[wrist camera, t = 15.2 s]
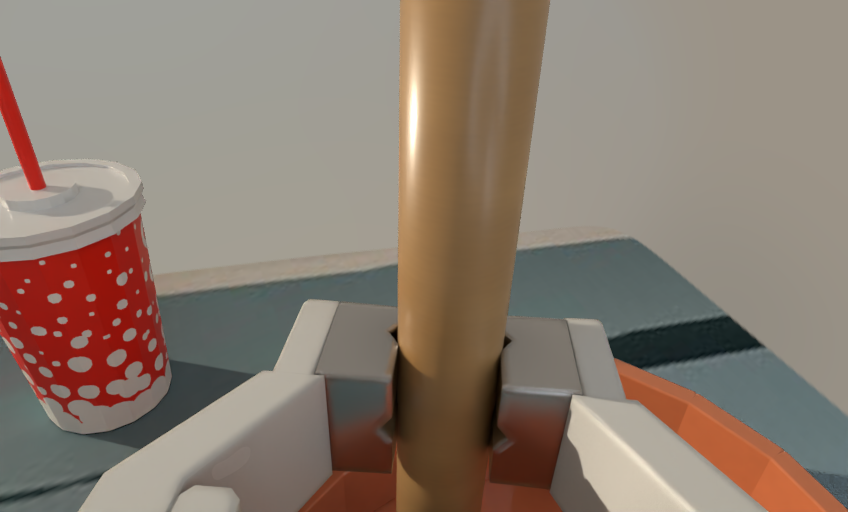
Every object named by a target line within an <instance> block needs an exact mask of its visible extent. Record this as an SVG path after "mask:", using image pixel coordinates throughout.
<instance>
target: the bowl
mask: <svg viewBox="0 0 848 512" xmlns="http://www.w3.org/2000/svg"><path fill="white" fill-rule="evenodd" d="M614 361H615V365H616V368H617V371H618V374H619V377H620V380H621V383H622V387H623V390H624V393H625V396H626V399H628V400H638V401H639V402H640V403H641V404H642V405H644V406H645V407H646V408H647V409H648V410H649V411H651V412H652V413H653V414H654V415H655V416H657V417H658V418H659V419H660V420H661V421H662V422H664V423H665V424H666V425H667V426H668V427H669V428H671V429H672V430H673V431H674V432H675V433H677V434H678V435H679V436H680V437H681V438H682V439H684V440H685V441H686V442H687V443H688V444H690V445H691V446H692V447H693V448H694V449H695V450H697V451H698V452H699V453H700V454H701V455H702V456H704V457H705V458H706V459H707V460H708V461H710V462H711V463H712V464H713V465H714V466H715V467H717V468H718V469H719V470H720V471H721V472H723V473H724V474H725V475H726V476H727V477H728V478H730V479H731V480H732V481H733V482H734V483H735V484H737V485H738V486H739V487H740V488H741V489H743V490H744V491H745V492H746V493H747V494H748V495H750V496H751V497H752V498H753V499H754V500H756V501H757V502H758V503H759V504H760V505H761V506H763V507H764V508H765V509H766V510H767V511H768V512H848V509H847V508H846V507H845V506H844V505H842V504H841V503H840V502H839V501H838V500H837V499H836V498H835V497H834V496H833V495H832V494H831V493H830V492H829V491H828V490H827V489H826V488H824V487H823V486H822V485H821V484H820V483H819V482H818V481H817V480H816V479H815V478H814V477H813V476H812V475H811V474H810V473H809V472H807V471H806V470H805V469H804V468H803V467H802V466H801V465H800V464H799V463H798V462H797V461H796V460H795V459H794V458H793V457H792V456H791V455H789V454H788V453H787V452H784V450H783V449H782V448H781V447H779V446H778V445H776V444H775V443H773V442H772V441H770V440H768V439H767V438H765V437H764V436H762V435H761V434H759V433H758V432H756V431H755V430H753V429H752V428H750V427H749V426H747V425H746V424H744V423H742V422H741V421H739V420H738V419H736V418H735V417H733V416H732V415H730V414H729V413H727V412H726V411H724V410H723V409H721V408H720V407H718V406H716V405H715V404H713V403H712V402H710V401H709V400H707V399H706V398H704V397H703V396H701V395H700V394H696V393H695V392H694V391H691V390H689V389H687V388H684V387H682V386H680V385H677V384H675V383H673V382H670V381H668V380H666V379H663V378H661V377H658V376H656V375H654V374H651V373H649V372H647V371H644V370H642V369H640V368H637V367H635V366H632V365H630V364H628V363H625V362H623V361H621V360H618V359H616V358H614ZM396 491H397V443H396V449H395V456H394V462H393V468H392V474H383V473H366V472H349V471H333V470H332V475H331V476H330V477H329V478H328V480H327V481H326V482H325V483H324V484H323V485H322V486H321V487H320V488H319V489H318V490H317V492H316V493H315V494H314V495H313V496H312V497H311V498H310V499H309V500H308V501H307V502H306V503H305V505H304V506H303V507H302V508H301V509H300V510H299V511H298V512H396ZM481 512H563V511H562V510H561V508H560V507H559V505H558V504H557V503H556V501H555V500H554V498H553V497H552V495H551V494H550V490H549V489H540V488H531V487H522V486H514V485H505V484H496V483H490V481H489V454H488V462H487V469H486V477H485V484H484V491H483V499H482V506H481Z"/></svg>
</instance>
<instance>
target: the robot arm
mask: <svg viewBox="0 0 848 512" xmlns="http://www.w3.org/2000/svg"><path fill="white" fill-rule="evenodd" d="M397 386H398V307H394V306H384V305H373V304H362V303H352V302H339V301H327V300H314V299H309V300H307V301H306V302H305V303H304V304H303V306H302V308H301V310H300V312H299V315H298V317H297V319H296V321H295V323H294V326H293V328H292V330H291V332H290V335H289V337H288V339H287V341H286V344H285V346H284V348H283V350H282V352H281V355H280V357H279V359H278V361H277V364H276V366H275V368H274V370H273V371H262V372H260V373H258V374H257V375H255V376H254V377H252V378H251V379H249V380H248V381H246V382H244V383H243V384H241V385H240V386H238V387H237V388H235V389H234V390H232V391H231V392H229V393H227V394H226V395H224V396H223V397H221V398H220V399H218V400H217V401H215V402H213V403H212V404H210V405H209V406H207V407H206V408H204V409H203V410H201V411H200V412H198V413H196V414H195V415H193V416H192V417H190V418H189V419H187V420H186V421H184V422H182V423H181V424H179V425H178V426H176V427H175V428H173V429H172V430H170V431H168V432H167V433H165V434H164V435H162V436H161V437H159V438H158V439H156V440H155V441H153V442H151V443H150V444H148V445H147V446H145V447H144V448H142V449H141V450H139V451H137V452H136V453H134V454H133V455H131V456H130V457H128V458H127V459H125V460H124V461H122V462H120V463H119V464H117V465H116V466H114V467H113V468H111V469H110V470H108V471H106V472H105V473H104V474H103V475H102V477H101V478H100V480H99V481H98V483H97V484H96V486H95V487H94V489H93V490H92V492H91V493H90V495H89V496H88V498H87V499H86V501H85V502H84V504H83V505H82V507H81V508H80V510H79V511H78V512H298V511H299V510H300V509H301V508H302V507H303V506H304V505H305V503H306V502H307V501H308V500H309V499H310V498H311V497H312V496H313V495H314V494H315V493H316V492H317V490H318V489H319V488H320V487H321V486H322V485H323V484H324V483H325V482H326V481H327V480H328V478H329V477H330V476H331V475H332V470H333V471H349V472H366V473H383V474H392V468H393V462H394V456H395V449H396V443H397V437H398V403H397ZM495 393H496V403H495V408H494V411H493V414H492V420H491V428H490V436H489V444H488V452H489V481H490V483H496V484H505V485H514V486H522V487H531V488H540V489H549V490H550V494H551V495H552V497H553V498H554V500H555V501H556V503H557V504H558V505H559V507H560V508H561V510H562V511H563V512H768V511H767V510H766V509H765V508H764V507H763V506H761V505H760V504H759V503H758V502H757V501H756V500H754V499H753V498H752V497H751V496H750V495H748V494H747V493H746V492H745V491H744V490H743V489H741V488H740V487H739V486H738V485H737V484H735V483H734V482H733V481H732V480H731V479H730V478H728V477H727V476H726V475H725V474H724V473H723V472H721V471H720V470H719V469H718V468H717V467H715V466H714V465H713V464H712V463H711V462H710V461H708V460H707V459H706V458H705V457H704V456H702V455H701V454H700V453H699V452H698V451H697V450H695V449H694V448H693V447H692V446H691V445H690V444H688V443H687V442H686V441H685V440H684V439H682V438H681V437H680V436H679V435H678V434H677V433H675V432H674V431H673V430H672V429H671V428H669V427H668V426H667V425H666V424H665V423H664V422H662V421H661V420H660V419H659V418H658V417H657V416H655V415H654V414H653V413H652V412H651V411H649V410H648V409H647V408H646V407H645V406H644V405H642V404H641V403H640V402H639V401H638V400H628V399H626V396H625V393H624V390H623V387H622V383H621V380H620V377H619V374H618V371H617V368H616V365H615V361H614V358H613V355H612V352H611V349H610V346H609V343H608V340H607V336H606V333H605V330H604V327H603V324H602V323H601V322H600V321H599V320H595V319H573V318H564V319H552V318H538V317H523V316H508V315H507V322H506V329H505V337H504V344H503V350H502V352H501V354H500V361H499V369H498V376H497V383H496V390H495Z"/></svg>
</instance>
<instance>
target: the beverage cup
mask: <svg viewBox="0 0 848 512" xmlns="http://www.w3.org/2000/svg"><path fill="white" fill-rule="evenodd" d="M0 111H1V113H2V116H3V119H4V121H5V124H6V127H7V129H8V132H9V135H10V137H11V140H12V143H13V145H14V148H15V151H16V153H17V156H18V159H19V161H20V164H21V166H16V167H12V168H8V169H5V170H2V171H0V334H1V336H2V338H3V340H4V341H5V343H6V345H7V346H8V348H9V350H10V351H11V353H12V355H13V357H14V358H15V360H16V362H17V363H18V365H19V367H20V369H21V370H22V372H23V374H24V375H25V377H26V379H27V380H28V382H29V384H30V386H31V387H32V389H33V391H34V392H35V394H36V396H37V398H38V399H39V401H40V403H41V404H42V406H43V408H44V409H45V411H46V413H47V415H48V416H49V418H50V420H52V421H53V422H54V423H55V424H56V425H57V426H58V427H60V428H61V429H62V430H65V431H70V432H75V433H80V434H89V433H97V432H105V431H110V430H113V429H116V428H118V427H121V426H123V425H126V424H129V423H131V422H134V421H136V420H137V419H139V418H140V417H141V416H143V415H144V414H146V413H147V412H149V411H150V410H152V409H153V408H155V407H156V405H157V404H158V403H159V402H160V401H161V399H162V398H163V397H164V396H165V394H166V393H167V392H168V389H169V386H170V382H171V378H172V374H171V369H170V363H169V358H168V353H167V348H166V343H165V337H164V332H163V327H162V322H161V317H160V311H159V306H158V301H157V296H156V290H155V285H154V280H153V275H152V270H151V265H150V259H149V254H148V249H147V244H146V238H145V233H144V228H143V223H142V218H141V211H142V209H143V207H144V205H145V203H146V201H145V199H144V197H143V195H142V191H143V189H144V188H143V184H142V181H141V179H140V178H139V176H138V174H137V172H136V170H135V169H132V168H130V167H127V166H125V165H123V164H120V163H118V162H112V161H103V160H94V159H74V160H52V161H46V162H40V163H38V161H37V158H36V155H35V153H34V150H33V147H32V144H31V141H30V139H29V136H28V133H27V130H26V127H25V125H24V122H23V119H22V117H21V113H20V111H19V108H18V105H17V102H16V99H15V97H14V94H13V91H12V88H11V85H10V83H9V80H8V77H7V74H6V71H5V69H4V66H3V63H2V60H1V57H0Z"/></svg>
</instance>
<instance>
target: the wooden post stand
mask: <svg viewBox="0 0 848 512" xmlns="http://www.w3.org/2000/svg"><path fill="white" fill-rule="evenodd" d="M549 5H550V0H400V89H399V92H400V97H399V222H398V223H399V224H398V226H399V227H398V229H399V230H398V231H399V232H398V386H397V403H398V437H397V491H396V512H481V506H482V499H483V491H484V484H485V477H486V469H487V462H488V454H489V452H488V444H489V436H490V428H491V420H492V414H493V411H494V408H495V403H496V393H495V390H496V383H497V376H498V369H499V361H500V354H501V352H502V350H503V344H504V337H505V329H506V322H507V315H508V307H509V300H510V292H511V285H512V278H513V270H514V263H515V256H516V248H517V241H518V234H519V226H520V219H521V210H522V204H523V197H524V189H525V181H526V174H527V167H528V160H529V152H530V145H531V138H532V130H533V123H534V115H535V108H536V101H537V93H538V86H539V79H540V72H541V64H542V57H543V49H544V42H545V35H546V27H547V19H548V13H549Z"/></svg>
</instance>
